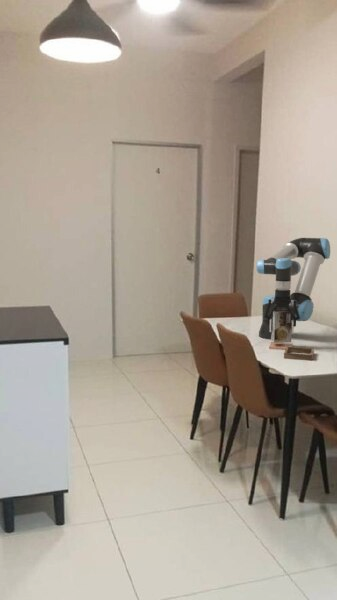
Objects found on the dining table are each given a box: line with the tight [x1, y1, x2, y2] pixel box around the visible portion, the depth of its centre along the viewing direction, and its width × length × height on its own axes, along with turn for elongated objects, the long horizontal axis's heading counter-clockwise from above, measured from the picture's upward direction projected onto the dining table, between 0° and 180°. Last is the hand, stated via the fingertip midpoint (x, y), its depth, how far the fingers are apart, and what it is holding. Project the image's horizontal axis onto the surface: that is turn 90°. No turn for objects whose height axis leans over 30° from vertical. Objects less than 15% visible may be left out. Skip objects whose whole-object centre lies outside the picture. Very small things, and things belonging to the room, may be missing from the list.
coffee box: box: [270, 309, 293, 343], centre depth 263 cm, size 9×6×16 cm
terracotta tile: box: [268, 341, 294, 351], centre depth 265 cm, size 11×11×1 cm
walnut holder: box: [283, 346, 315, 361], centre depth 248 cm, size 13×13×2 cm
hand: (281, 332), depth 264 cm, fingers closed on coffee box, 10 cm apart
